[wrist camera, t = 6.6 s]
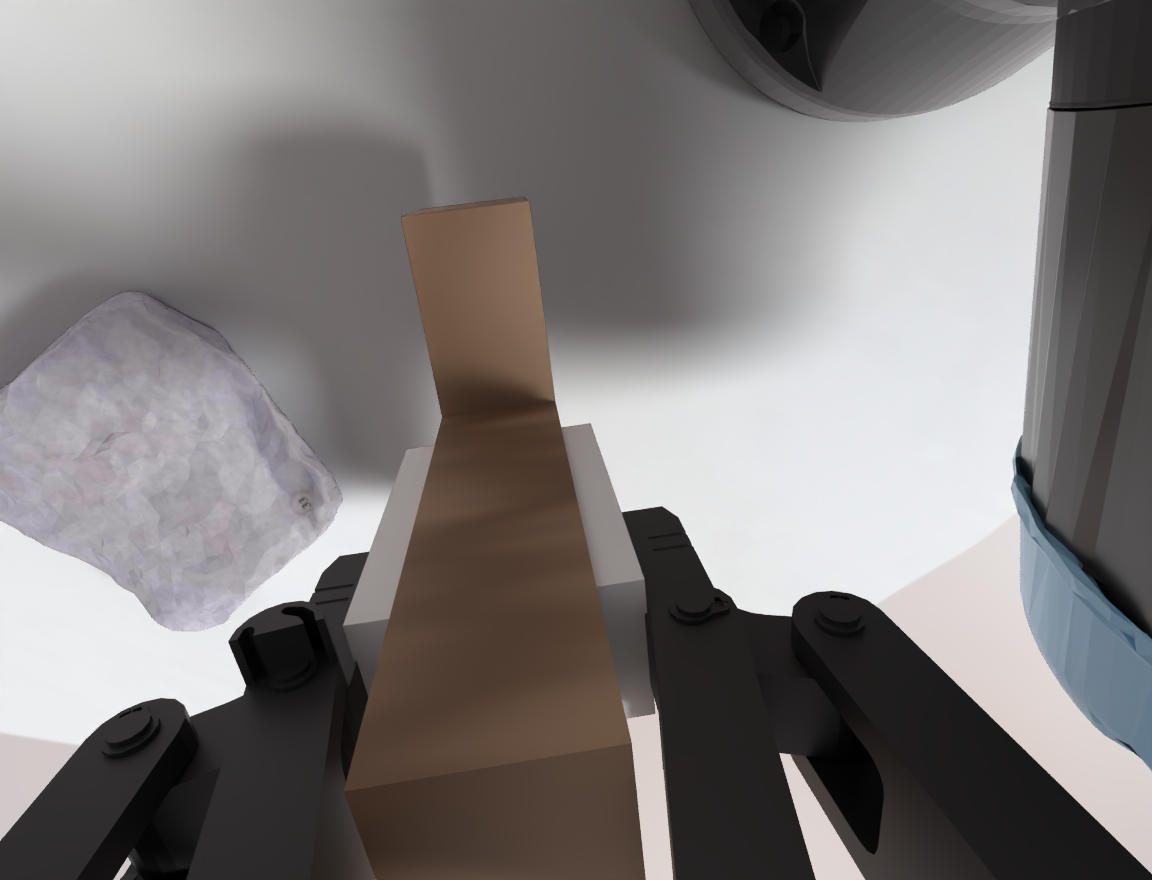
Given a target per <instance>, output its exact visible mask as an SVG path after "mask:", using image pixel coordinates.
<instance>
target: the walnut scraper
mask: <svg viewBox="0 0 1152 880" xmlns="http://www.w3.org/2000/svg"><path fill="white" fill-rule="evenodd" d="M401 221H402V226H403V230H404V235H405V240H406V245H407V250H408V254H409V259H410V264H411V269H412V274H413V279H414V283H415V288H416V293H417V298H418V303H419V308H420V312H421V317H422V322H423V327H424V332H425V337H426V341H427V346H428V351H429V356H430V361H431V366H432V370H433V375H434V380H435V385H436V390H437V394H438V399H439V404H440V409H441V414H442V420H441V424H440V428H439V431H438V435H437V439H436V443H435V447H434V450H433V454H432V458H431V462H430V465H429V469H428V473H427V477H426V481H425V484H424V488H423V492H422V496H421V500H420V503H419V507H418V511H417V515H416V519H415V522H414V526H413V530H412V534H411V538H410V541H409V545H408V549H407V553H406V557H405V560H404V564H403V568H402V572H401V576H400V579H399V583H398V587H397V591H396V595H395V598H394V602H393V606H392V610H391V614H390V617H389V621H388V625H387V629H386V633H385V636H384V640H383V644H382V648H381V652H380V655H379V659H378V663H377V667H376V671H375V674H374V678H373V682H372V686H371V690H370V693H369V697H368V701H367V705H366V709H365V712H364V716H363V720H362V724H361V728H360V731H359V735H358V739H357V743H356V747H355V750H354V754H353V758H352V762H351V766H350V769H349V773H348V777H347V781H346V785H345V788H344V794H345V797H346V799H347V802H348V805H349V808H350V810H351V813H352V816H353V819H354V821H355V824H356V827H357V830H358V832H359V835H360V838H361V841H362V843H363V846H364V849H365V851H366V854H367V857H368V860H369V862H370V865H371V868H372V871H373V873H374V876H375V879H376V880H646V879H645V869H644V861H643V851H642V840H641V830H640V821H639V812H638V801H637V791H636V782H635V772H634V762H633V752H632V743H631V738H630V734H629V730H628V725H627V721H626V716H625V712H624V707H623V703H622V698H621V694H620V689H619V685H618V680H617V676H616V671H615V667H614V662H613V658H612V653H611V649H610V644H609V640H608V635H607V631H606V626H605V622H604V617H603V613H602V609H601V604H600V600H599V595H598V591H597V586H596V582H595V577H594V573H593V568H592V564H591V559H590V555H589V550H588V546H587V541H586V537H585V532H584V528H583V523H582V519H581V514H580V510H579V506H578V501H577V497H576V492H575V488H574V483H573V479H572V474H571V470H570V465H569V461H568V456H567V452H566V447H565V443H564V438H563V434H562V429H561V425H560V420H559V416H558V411H557V407H556V403H555V396H554V388H553V380H552V372H551V365H550V357H549V349H548V342H547V334H546V326H545V319H544V311H543V303H542V296H541V288H540V280H539V272H538V265H537V257H536V249H535V242H534V234H533V226H532V219H531V211H530V203H529V201H528V200H527V199H526V198H525V197H518V198H510V199H501V200H493V201H485V202H476V203H468V204H460V205H452V206H443V207H435V208H427V209H421V210H418V211H415V212H413V213H410V214H407V215H405V216H402V217H401Z"/></svg>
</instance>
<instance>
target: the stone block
mask: <svg viewBox="0 0 1152 880" xmlns="http://www.w3.org/2000/svg"><path fill="white" fill-rule="evenodd" d="M342 501H343V498H342V493H341V492H340V490H339V488H338V486H337V483H336V481H335V479H334V477H333V475H332V473H331V472H330V471H329V470H327V468H326V467H325V466H324V465H323V463H322V462H321V461H320V460H319V458H318V457H317V455H316V454H315V453H314V452H313V451H312V450H311V449H310V448H309V446H308V445H307V444H306V443H305V442H304V440H303V439H302V438H301V437H300V436H299V435H298V434H297V432H296V430H295V428H294V425H293V424H292V423H291V422H290V421H289V420H288V418H287V416H286V415H285V414H283V413H282V412H281V411H280V410H279V408H278V407H277V406H276V405H275V404H274V403H273V402H272V400H271V398H270V396H269V394H268V392H267V390H266V389H265V388H264V386H263V385H262V384H261V383H260V382H259V381H258V380H257V379H256V378H255V376H254V375H253V374H252V372H251V370H250V368H248V367H247V366H246V364H245V363H244V362H243V360H242V359H240V358H239V357H237V356H236V355H235V354H234V353H233V352H232V350H231V349H230V347H229V345H228V343H227V342H226V340H225V339H224V338H223V337H222V336H221V335H220V334H219V333H218V332H217V331H215V330H213V329H211V328H209V327H207V326H205V325H203V324H201V323H199V322H196V321H194V320H192V319H190V318H189V317H187V316H185V315H183V314H182V313H180V312H178V311H176V310H173V309H171V308H169V307H167V306H166V305H164V304H163V303H161V302H159V301H157V300H155V299H153V298H152V297H150V296H149V295H147V294H145V293H142V292H124V293H119V294H117V295H115V296H113V297H111V298H110V299H108V300H107V301H105V302H103V303H102V304H100V305H98V306H97V307H95V308H94V309H92V310H91V311H89V312H88V313H86V314H85V315H84V316H83V317H82V318H81V319H80V320H79V321H77V322H76V323H75V324H74V325H73V326H72V327H70V328H68V329H67V330H66V332H65V333H64V334H63V335H62V336H60V337H59V338H57V339H56V340H55V341H54V342H53V343H52V344H51V345H50V346H49V347H47V348H46V350H45V351H44V352H43V353H42V354H41V355H39V356H38V357H37V358H36V359H35V360H34V361H33V362H32V363H31V364H30V365H29V366H27V367H26V368H25V369H24V370H23V371H21V372H20V373H19V375H18V376H17V377H16V378H15V379H14V381H13V382H12V383H10V384H8V385H6V386H5V387H3V388H1V389H0V520H1V521H2V522H4V523H6V524H8V525H10V526H12V527H14V528H16V529H17V530H19V531H20V532H21V533H23V534H24V535H26V536H28V537H30V538H33V539H34V540H36V541H38V542H39V543H41V544H43V545H44V546H47V547H49V548H51V549H54V550H56V551H59V552H62V553H65V554H67V555H70V556H73V557H76V558H78V559H80V560H82V561H85V562H87V563H89V564H91V565H93V566H94V567H96V568H98V569H100V570H102V571H103V572H105V573H106V574H108V575H110V576H111V577H112V578H113V579H114V581H115V582H116V583H117V584H119V585H120V586H121V587H123V588H124V589H126V590H128V591H130V592H132V593H134V594H135V595H136V596H137V598H138V599H139V600H140V602H141V603H142V604H143V606H144V607H145V609H146V610H147V611H148V613H149V614H150V616H151V617H152V618H153V619H154V620H155V621H156V622H157V623H158V624H160V625H162V626H164V627H166V628H168V629H170V630H173V631H201V630H205V629H208V628H211V627H214V626H217V625H220V624H223V623H224V622H226V621H227V620H228V619H229V617H230V615H231V614H232V612H233V611H235V610H236V609H237V608H238V607H239V606H240V605H241V604H242V603H243V602H244V601H245V600H246V598H248V597H249V596H250V594H251V593H252V592H253V591H254V590H256V589H257V588H258V587H259V586H261V585H262V584H263V583H264V582H265V581H267V580H268V579H269V578H270V577H271V576H273V575H274V574H276V573H277V572H279V571H280V570H281V569H282V568H283V567H284V566H285V565H286V564H288V563H289V562H290V561H291V560H292V559H293V558H294V557H295V556H297V555H298V554H299V553H301V552H302V551H304V550H305V549H306V548H307V547H309V546H310V545H311V544H313V543H314V542H315V541H316V540H317V539H318V538H319V537H320V536H321V535H322V534H323V533H324V532H325V531H326V530H327V528H328V527H329V526H330V524H331V523H332V522H333V520H334V517H335V515H336V513H337V510H338V507H339V506H340V504H341V503H342Z"/></svg>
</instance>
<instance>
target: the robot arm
mask: <svg viewBox="0 0 1152 880" xmlns="http://www.w3.org/2000/svg"><path fill="white" fill-rule="evenodd" d="M689 2H690V4H691V6H692V8H693V10H694V12H695V14H696V16H697V18H698V20H699V21H700V23H701V25H702V27H703V28H704V30H705V32H706V33H707V35H708V36H709V38H710V39H711V41H712V42H713V44H714V45H715V47H716V48H717V49H718V51H719V52H720V53H721V54H722V55H723V57H724V58H725V59H726V60H727V62H728V63H729V64H730V65H731V66H732V67H733V68H734V69H735V70H736V71H737V72H738V73H739V74H740V75H741V76H742V77H743V78H744V79H746V80H747V81H748V82H749V83H750V84H751V85H753V86H754V87H755V88H757V89H758V90H759V91H761V92H762V93H763V94H765V95H767V96H768V97H770V98H772V99H773V100H775V101H776V102H778V103H780V104H782V105H784V106H786V107H788V108H791V109H793V110H796V111H798V112H801V113H803V114H807V115H810V116H814V117H817V118H822V119H827V120H833V121H843V122H868V121H879V120H885V119H891V118H898V117H904V116H910V115H916V114H922V113H926V112H930V111H934V110H938V109H941V108H944V107H947V106H950V105H953V104H955V103H958V102H960V101H962V100H965V99H967V98H970V97H972V96H974V95H977V94H979V93H981V92H983V91H985V90H987V89H988V88H990V87H992V86H994V85H996V84H998V83H999V82H1001V81H1003V80H1004V79H1006V78H1008V77H1009V76H1011V75H1012V74H1014V73H1015V72H1017V71H1018V70H1019V69H1021V68H1022V67H1024V66H1025V65H1027V64H1028V63H1030V62H1031V61H1033V60H1034V59H1035V58H1037V57H1038V56H1040V55H1041V54H1042V53H1044V52H1045V51H1047V50H1048V49H1050V48H1051V47H1052V46H1054V45H1055V49H1054V63H1053V77H1052V92H1051V101H1050V102H1049V104H1050V107H1049V108H1048V109H1047V121H1046V134H1045V147H1044V160H1043V174H1042V187H1041V200H1040V213H1039V226H1038V239H1037V253H1036V266H1035V279H1034V292H1033V305H1032V318H1031V332H1030V345H1029V358H1028V371H1027V384H1026V397H1025V411H1024V424H1023V435H1022V436H1021V437H1020V440H1019V442H1018V445H1017V448H1016V451H1015V454H1014V457H1013V468H1014V480H1013V483H1012V486H1011V491H1012V494H1013V497H1014V501H1015V504H1016V508H1017V511H1018V514H1019V515H1020V519H1021V520H1020V590H1021V595H1022V601H1023V606H1024V611H1025V615H1026V618H1027V621H1028V624H1029V627H1030V629H1031V632H1032V634H1033V637H1034V639H1035V641H1036V643H1037V646H1038V648H1039V650H1040V652H1041V654H1042V655H1043V657H1044V659H1045V660H1046V662H1047V664H1048V665H1049V667H1050V669H1051V670H1052V672H1053V674H1054V675H1055V677H1056V678H1057V680H1058V681H1059V683H1060V685H1061V686H1062V688H1063V689H1064V690H1065V692H1066V693H1067V694H1068V695H1069V697H1070V698H1071V699H1072V701H1073V702H1074V703H1075V704H1076V706H1077V707H1078V708H1079V709H1080V711H1081V712H1082V713H1083V714H1084V715H1085V716H1086V717H1087V719H1088V720H1089V721H1090V722H1091V723H1092V724H1093V725H1094V726H1095V727H1096V728H1097V729H1099V730H1100V731H1101V732H1102V733H1103V734H1104V735H1105V736H1107V737H1108V738H1110V739H1112V740H1113V741H1115V742H1117V743H1118V744H1120V745H1122V746H1123V747H1125V748H1126V749H1128V750H1130V751H1132V752H1134V753H1135V754H1136V755H1137V756H1139V757H1140V758H1141V759H1142V760H1143V761H1144V762H1145V763H1146V764H1147V766H1148V767H1149V768H1150V769H1151V771H1152V0H689ZM561 429H562V434H563V438H564V443H565V447H566V452H567V456H568V461H569V465H570V470H571V474H572V479H573V483H574V488H575V492H576V497H577V501H578V506H579V510H580V514H581V519H582V523H583V528H584V532H585V537H586V541H587V546H588V550H589V555H590V559H591V564H592V568H593V573H594V577H595V582H596V586H597V591H598V595H599V600H600V604H601V609H602V613H603V617H604V622H605V626H606V631H607V635H608V640H609V644H610V649H611V653H612V658H613V662H614V667H615V671H616V676H617V680H618V685H619V689H620V694H621V698H622V703H623V707H624V712H625V716H626V719H627V718H632V717H639V716H645V715H650V714H655V704H654V698H655V702H656V705H657V709H658V712H659V722H660V735H661V748H662V761H663V770H664V780H665V791H666V801H667V813H668V825H669V835H670V847H671V857H672V869H673V880H816V879H815V876H814V872H813V869H812V865H811V862H810V859H809V855H808V851H807V848H806V845H805V841H804V838H803V835H802V831H801V827H800V824H799V820H798V817H797V813H796V810H795V807H794V803H793V799H792V796H791V793H790V789H789V786H788V782H787V779H786V776H785V772H784V768H783V765H782V761H781V758H780V754H779V753H786V754H791V756H792V759H793V760H794V762H795V764H796V766H797V767H798V769H799V771H800V772H801V774H802V776H803V777H804V779H805V781H806V782H807V784H808V786H809V787H810V789H811V791H812V792H813V794H814V796H815V797H816V799H817V800H818V802H819V804H820V805H821V807H822V809H823V810H824V812H825V814H826V815H827V817H828V819H829V820H830V822H831V824H832V825H833V827H834V829H835V830H836V832H837V834H838V835H839V837H840V838H841V840H842V842H843V843H844V845H845V847H846V848H847V850H848V852H849V853H850V855H851V857H852V858H853V860H854V862H855V863H856V865H857V867H858V868H859V870H860V872H861V873H862V875H863V876H864V878H865V880H1152V874H1151V873H1150V872H1149V871H1148V870H1147V869H1146V868H1145V867H1144V866H1143V865H1142V864H1141V863H1140V862H1139V861H1138V860H1137V859H1136V858H1135V857H1134V856H1133V855H1132V854H1131V853H1130V852H1128V850H1126V849H1125V848H1124V847H1123V846H1122V845H1121V844H1120V843H1119V842H1118V841H1117V840H1116V839H1115V838H1114V837H1113V836H1112V835H1111V834H1110V833H1109V832H1108V831H1107V830H1106V829H1105V828H1104V827H1103V826H1102V825H1101V824H1100V823H1099V822H1098V821H1097V820H1096V819H1095V818H1094V817H1093V816H1092V815H1090V813H1089V812H1087V811H1086V810H1085V809H1084V808H1083V807H1082V806H1081V805H1080V804H1079V803H1078V802H1077V801H1076V800H1075V799H1074V798H1073V797H1072V796H1071V795H1070V794H1069V793H1068V792H1067V791H1066V790H1065V789H1064V788H1063V787H1062V786H1061V785H1060V784H1059V783H1058V782H1057V781H1056V780H1055V779H1054V778H1053V777H1052V776H1051V775H1050V774H1048V773H1047V771H1046V770H1044V769H1043V768H1042V767H1041V766H1040V765H1039V764H1038V763H1037V762H1036V761H1035V760H1034V759H1033V758H1032V757H1031V756H1030V755H1029V754H1028V753H1027V752H1026V751H1025V750H1024V749H1023V748H1022V747H1021V746H1020V745H1019V744H1018V743H1017V742H1016V741H1015V740H1014V739H1013V738H1012V737H1011V736H1009V734H1008V733H1007V732H1005V731H1004V730H1003V729H1002V728H1001V727H1000V726H999V725H998V724H997V723H996V722H995V721H994V720H993V719H992V718H991V717H990V716H989V715H988V714H987V713H986V712H985V711H984V710H983V709H982V708H981V707H980V706H979V705H978V704H977V703H976V702H975V701H973V699H972V698H971V697H970V696H968V694H967V693H966V692H964V691H963V690H962V689H961V688H960V687H959V686H958V685H957V684H956V683H955V682H954V681H953V680H952V679H951V678H950V677H949V676H948V675H947V674H946V673H945V672H944V671H943V670H942V669H941V668H940V667H939V666H938V665H937V664H936V663H935V662H934V661H933V660H932V659H931V658H930V657H929V656H927V654H926V653H924V652H923V651H922V650H921V649H920V648H919V647H918V646H917V645H916V644H915V643H914V642H913V641H912V640H911V639H910V638H909V637H908V636H907V635H906V634H905V633H904V632H903V631H902V630H901V629H900V628H899V627H898V626H896V624H895V623H894V622H893V621H892V620H891V619H890V618H888V616H886V615H885V613H884V612H882V611H881V610H880V609H879V608H878V607H876V606H875V605H873V604H872V603H870V602H869V601H868V600H866V599H863V598H860V597H858V596H855V595H852V594H849V593H842V592H836V591H826V592H815V593H812V594H810V595H807V596H805V597H802V598H801V599H800V600H799V601H798V602H797V603H796V604H795V605H794V606H793V612H792V617H789V616H775V615H763V614H756V613H750V612H747V611H744V610H741V609H738V608H737V607H736V605H735V603H734V602H733V600H732V598H731V597H730V596H728V595H727V594H725V593H724V592H722V591H721V590H719V589H716V588H714V587H713V585H712V583H711V581H710V579H709V577H708V575H707V573H706V571H705V569H704V567H703V565H702V563H701V561H700V559H699V557H698V555H697V553H696V552H695V550H694V548H693V546H692V545H691V542H690V540H689V538H688V536H687V535H686V532H685V530H684V528H683V526H682V524H681V522H680V520H679V518H678V517H677V516H675V515H674V514H672V513H671V512H669V511H668V510H667V509H665V508H664V507H655V508H648V509H642V510H635V511H628V512H621V510H620V507H619V504H618V501H617V498H616V495H615V493H614V490H613V487H612V484H611V481H610V478H609V475H608V472H607V469H606V467H605V464H604V461H603V458H602V455H601V452H600V449H599V446H598V443H597V441H596V438H595V435H594V432H593V429H592V426H591V423H590V424H583V425H576V426H569V427H562V428H561ZM434 447H435V445H434V446H427V447H419V448H412V449H407V450H406V453H405V455H404V458H403V461H402V464H401V466H400V469H399V472H398V475H397V477H396V480H395V483H394V486H393V488H392V491H391V494H390V497H389V499H388V502H387V505H386V508H385V511H384V513H383V516H382V519H381V522H380V524H379V527H378V530H377V533H376V535H375V538H374V541H373V544H372V546H371V549H370V552H364V553H358V554H351V555H344V556H339V557H338V558H337V559H336V560H335V561H334V562H333V563H332V564H331V565H330V566H329V567H328V568H327V569H326V570H325V571H324V572H323V573H322V575H321V577H320V579H319V581H318V584H317V586H316V588H315V593H313V594H312V597H311V599H310V601H309V602H305V601H296V602H288V603H283V604H280V605H277V606H274V607H271V608H268V609H266V610H264V611H262V612H260V613H258V614H256V615H255V616H253V617H251V618H249V619H248V620H247V621H246V622H245V623H243V624H242V625H241V626H240V627H239V628H237V629H236V631H235V632H234V634H233V635H232V637H231V638H230V640H229V641H228V642H229V645H230V647H231V650H232V652H233V654H234V657H235V659H236V662H237V664H238V667H239V669H240V671H241V674H242V676H243V679H244V681H245V684H246V688H245V692H244V695H243V696H241V697H239V698H237V699H235V700H232V701H230V702H228V703H225V704H223V705H220V706H218V707H215V708H212V709H210V710H207V711H204V712H202V713H199V714H196V715H194V716H191V717H189V715H188V712H187V710H186V708H185V706H184V705H183V704H181V703H180V702H179V701H177V700H176V699H165V698H159V699H155V700H151V701H146V702H142V703H140V704H137V705H135V706H132V707H130V708H128V709H126V710H124V711H121V712H120V713H118V714H117V715H115V716H114V717H112V718H111V719H109V720H108V721H106V722H105V723H103V724H102V725H101V726H100V727H98V728H97V729H96V730H95V731H94V732H93V733H92V734H91V735H90V736H89V737H88V738H87V739H86V740H85V741H84V742H83V743H82V745H81V746H80V747H79V748H78V749H77V751H76V752H75V753H74V754H73V755H72V757H71V758H70V759H69V760H68V761H67V762H66V764H65V765H64V766H63V767H62V769H61V770H60V771H59V772H58V773H57V774H56V776H55V777H54V778H53V779H52V780H51V782H50V783H49V784H48V785H47V786H46V787H45V789H44V790H43V791H42V792H41V793H40V795H39V796H38V797H37V798H36V800H34V802H33V803H32V804H31V805H30V806H29V808H28V809H27V810H26V811H25V812H24V814H23V815H22V816H21V817H20V818H19V820H18V821H17V822H16V823H15V824H14V825H13V827H12V828H11V829H10V830H9V831H8V833H7V834H6V835H5V836H4V837H3V838H2V840H1V841H0V880H113V879H114V877H115V876H116V874H117V873H118V871H119V869H120V868H121V866H122V865H123V863H124V862H125V860H126V858H127V857H128V858H129V860H130V861H131V865H130V866H129V868H128V870H127V871H126V873H125V874H124V876H123V877H122V878H121V879H120V880H376V879H375V876H374V873H373V871H372V868H371V865H370V862H369V860H368V857H367V854H366V851H365V849H364V846H363V843H362V841H361V838H360V835H359V832H358V830H357V827H356V824H355V821H354V819H353V816H352V813H351V810H350V808H349V805H348V802H347V799H346V797H345V794H344V788H345V785H346V781H347V777H348V773H349V769H350V766H351V762H352V758H353V754H354V750H355V747H356V743H357V739H358V735H359V731H360V728H361V724H362V720H363V716H364V712H365V709H366V705H367V701H368V697H369V693H370V690H371V686H372V682H373V678H374V674H375V671H376V667H377V663H378V659H379V655H380V652H381V648H382V644H383V640H384V636H385V633H386V629H387V625H388V621H389V617H390V614H391V610H392V606H393V602H394V598H395V595H396V591H397V587H398V583H399V579H400V576H401V572H402V568H403V564H404V560H405V557H406V553H407V549H408V545H409V541H410V538H411V534H412V530H413V526H414V522H415V519H416V515H417V511H418V507H419V503H420V500H421V496H422V492H423V488H424V484H425V481H426V477H427V473H428V469H429V465H430V462H431V458H432V454H433V450H434Z"/></svg>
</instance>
